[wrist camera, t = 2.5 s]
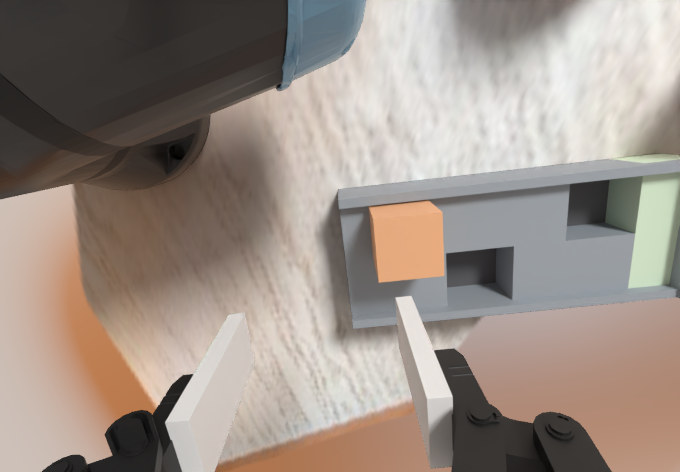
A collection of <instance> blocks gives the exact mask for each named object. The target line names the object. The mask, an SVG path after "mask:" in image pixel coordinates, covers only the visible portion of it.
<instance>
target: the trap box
mask: <svg viewBox="0 0 680 472" xmlns="http://www.w3.org/2000/svg"><path fill="white" fill-rule="evenodd" d="M427 199H428V200H429V201H430V202H431V203H432V204H434V205H435V206H436V207H437V208H438V209H439V210H440V211H442V212H443V244H444V276H440V277H430V278H420V279H410V280H400V281H391V282H381V283H379V281H378V277H377V273H376V268H375V264H374V260H373V250H372V239H371V228H370V218H369V207H368V206H373V205H382V204H391V203H400V202H409V201H418V200H427ZM338 204H339V209H340V218H341V226H342V235H343V244H344V252H345V261H346V269H347V278H348V287H349V295H350V304H351V312H352V324H353V329H357V328H367V327H377V326H388V325H397V312H396V299H395V297H405V296H412V298H413V301H414V303H415V306H416V308H417V311H418V313H419V316H420V318H421V320H422V322H429V321H439V320H449V319H459V318H470V317H480V316H490V315H501V314H510V313H521V312H531V311H542V310H552V309H562V308H572V307H582V306H593V305H603V304H613V303H624V302H634V301H644V300H655V299H665V298H675V297H678V298H680V155H672V154H661V153H659V154H650V155H641V156H632V157H623V158H614V159H605V160H596V161H587V162H578V163H570V164H561V165H552V166H543V167H534V168H525V169H516V170H507V171H498V172H489V173H480V174H471V175H462V176H453V177H445V178H436V179H427V180H418V181H409V182H400V183H391V184H382V185H373V186H364V187H355V188H346V189H338Z"/></svg>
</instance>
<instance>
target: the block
mask: <svg viewBox="0 0 680 472" xmlns="http://www.w3.org/2000/svg"><path fill="white" fill-rule="evenodd" d="M368 207H369V218H370V228H371V239H372V250H373V260H374V264H375V268H376V273H377V277H378V281H379V283H381V282H391V281H400V280H410V279H420V278H430V277H440V276H444V244H443V212H442V211H440V210H439V209H438V208H437V207H436V206H435V205H434V204H432V203H431V202H430V201H429V200H428V199H427V200H418V201H409V202H400V203H391V204H382V205H373V206H368Z"/></svg>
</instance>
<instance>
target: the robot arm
mask: <svg viewBox="0 0 680 472" xmlns="http://www.w3.org/2000/svg"><path fill="white" fill-rule="evenodd" d="M365 4H366V0H0V199H4V198H8V197H13V196H18V195H22V194H27V193H32V192H36V191H41V190H45V189H50V188H54V187H59V186H63V185H69V184H73V183H77V182H82V183H86V184H91V185H95V186H100V187H104V188H109V189H115V190H138V189H145V188H149V187H152V186H155V185H158V184H161V183H165V182H167V181H169V180H171V179H173V178H175V177H177V176H178V175H180V174H181V173H183V172H184V171H185V170H186V169H187V168H188V167H189V166H190V165H191V164H192V163H193V162H194V161H195V159H196V158H197V156H198V155H199V153H200V151H201V150H202V148H203V145H204V143H205V140H206V137H207V134H208V129H209V123H210V114H212V113H215V112H217V111H219V110H222V109H224V108H227V107H229V106H232V105H234V104H236V103H239V102H241V101H244V100H246V99H249V98H251V97H254V96H256V95H258V94H261V93H263V92H266V91H268V90H271V89H273V88H276V89H277V91H282V90H284V89H286V88H288V87H289V85H290V84H291V83H292V81H293V80H295V79H297V78H299V77H301V76H304V75H306V74H308V73H310V72H312V71H314V70H316V69H319V68H321V67H323V66H325V65H327V64H329V63H331V62H334V61H336V60H337V59H339V58H340V57H342V56H343V55H344V54H345V53H346V52H347V51H348V50H349V49H350V47H351V45H352V44H353V42H354V40H355V38H356V37H357V34H358V32H359V30H360V27H361V23H362V21H363V16H364V11H365ZM395 299H396V312H397V325H398V339H399V349H400V352H401V356H402V360H403V364H404V368H405V372H406V376H407V379H408V383H409V387H410V391H411V395H412V399H413V403H414V406H415V410H416V414H417V418H418V422H419V426H420V429H421V433H422V437H423V441H424V445H425V449H426V452H427V457H428V460H429V464H430V468H431V469H433V468H445V467H452V472H611V470H610V468H609V467H608V465H607V464H606V462H605V460H604V459H603V457H602V456H601V455H600V453H599V451H598V449H597V448H596V446H595V445H594V443H593V441H592V440H591V438H590V437H589V435H588V433H587V432H586V430H585V429H584V428H583V427H582V426H581V425H580V423H578V422H577V421H575V420H573V419H572V418H571V417H569V416H566V415H563V414H561V413H555V412H546V413H541V414H539V415H538V416H536V418H535V420H534V422H533V423H528V422H522V421H516V420H512V419H509V418H507V417H504V416H502V414H501V413H500V412H499V410H498V409H497V408H495V407H494V406H492V405H490V404H489V403H488V401H487V400H486V398H485V396H484V394H483V392H482V390H481V388H480V387H479V385H478V383H477V381H476V379H475V377H474V375H473V373H472V371H471V369H470V367H469V366H468V364H467V362H466V360H465V358H464V356H463V355H462V354H460V353H459V352H458V351H457V350H455V349H444V350H433V347H432V345H431V342H430V340H429V338H428V335H427V333H426V330H425V328H424V325H423V323H422V320H421V318H420V316H419V313H418V311H417V308H416V306H415V303H414V301H413V298H412V296H405V297H395ZM254 363H255V358H254V353H253V349H252V344H251V340H250V335H249V330H248V326H247V321H246V316H245V313H237V314H229V315H228V317H227V319H226V320H225V322H224V324H223V326H222V327H221V329H220V331H219V332H218V334H217V336H216V337H215V339H214V341H213V342H212V344H211V346H210V347H209V349H208V351H207V353H206V354H205V356H204V358H203V359H202V361H201V363H200V364H199V366H198V368H197V369H196V371H195V373H194V374H190V375H183V376H181V377H180V378H179V379H178V380H177V381H176V382H175V383H173V384H172V386H171V387H170V389H169V390H168V392H167V393H166V396H165V397H164V398H163V399H162V401H161V403H160V405H159V406H158V407H157V409H156V410H155V412H154V413H153V415H152V414H151V413H150V412H148V411H144V410H140V411H135V412H131V413H129V414H126V415H124V416H122V417H121V418H120V419H118V420H116V421H115V422H114V423H113V424H112V425H111V426H110V427H109V428H108V429H107V431H106V433H105V437H106V439H107V442H108V445H109V447H110V450H111V452H112V455H113V456H111V457H108V458H105V459H102V460H99V461H96V462H93V463H90V464H88V465H87V463H86V460H85V458H84V457H83V456H81V455H70V456H67V457H64V458H62V459H60V460H58V461H56V462H54V463H52V464H51V465H50V466H48V467H47V468H46V469H44V470H43V471H42V472H215V469H216V467H217V464H218V461H219V458H220V456H221V453H222V450H223V447H224V445H225V442H226V439H227V437H228V434H229V431H230V428H231V426H232V423H233V420H234V417H235V415H236V412H237V409H238V406H239V404H240V401H241V398H242V395H243V393H244V390H245V387H246V385H247V382H248V379H249V376H250V374H251V371H252V368H253V365H254Z"/></svg>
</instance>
